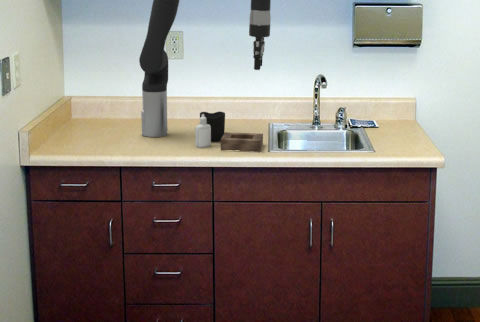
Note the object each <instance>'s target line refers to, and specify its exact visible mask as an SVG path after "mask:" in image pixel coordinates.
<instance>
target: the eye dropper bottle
mask: <svg viewBox="0 0 480 322" xmlns="http://www.w3.org/2000/svg"><path fill="white" fill-rule="evenodd" d="M194 132H195V136H194V138H195V141H194V142H195V143H194V145H195V147H196V148H197V149H204V148H208V147H211V146H212V142H211V126H210V125H209V124H206V117H205V116H204V114H202V117H200V116H199V124H197V125H196V126H195V131H194Z"/></svg>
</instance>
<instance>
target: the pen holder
mask: <svg viewBox="0 0 480 322" xmlns="http://www.w3.org/2000/svg"><path fill="white" fill-rule="evenodd" d="M202 114H204V116H205V117H206V124H209V125H210V126H211V143H219V142H220V143H221V138H222V136H223V135H224V133H225V129H226V128H225V126H226V113H225V112H224V111H216V112H208V111H201V112H199V118H200V117H202Z"/></svg>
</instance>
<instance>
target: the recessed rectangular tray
mask: <svg viewBox="0 0 480 322" xmlns="http://www.w3.org/2000/svg"><path fill="white" fill-rule="evenodd" d="M263 142H264V133H255V132H254V133H250V132H229V131H228V132H225V131H224V135H223V136H222V138H221V141H220V151H221V150H240V151H239V152H246V151H260V152H261V150H262V148H263V145H264V143H263Z"/></svg>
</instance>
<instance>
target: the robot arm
mask: <svg viewBox="0 0 480 322" xmlns="http://www.w3.org/2000/svg"><path fill="white" fill-rule="evenodd" d="M271 2H272V1H271V0H250V12H249V23H248V24H249V25H248V28H249V29H248V30H249V31H248V36H249V37H253V38H255V40H254V41H253V42H252V48H253V51H252V53H253V56H252V57H253V59H254V60H253V69H254V71H260V70H261V67H263V56H264V53H265V47H266V46H265V44H266V41H265V38H268V37H270V35H271V20H272V19H271V15H272V14H271ZM179 6H180V0H153V1H152V6H151V11H150V17H149V22H148V26H147V33H146V37H145V40H144V43H143V46H142V49H141V52H140V55H139V60H138V61H139V66H140V69H141V71H143V72H144V77H143V80H142V84H141V89H142V110H140V111H141V113H140V114H141V117H140V119H141V136H144V137H149V138H160V137H162V138H163V137H165V136H168V134H169V133H168V129H169V128H168V92H167V88H168V84H169V57H168V53H167V51H165V45H166V40H167V37H168V35H169V34H170V31H171V29H172V26H173V25H174V22H175V19H176V16H177V13H178V9H179Z"/></svg>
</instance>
